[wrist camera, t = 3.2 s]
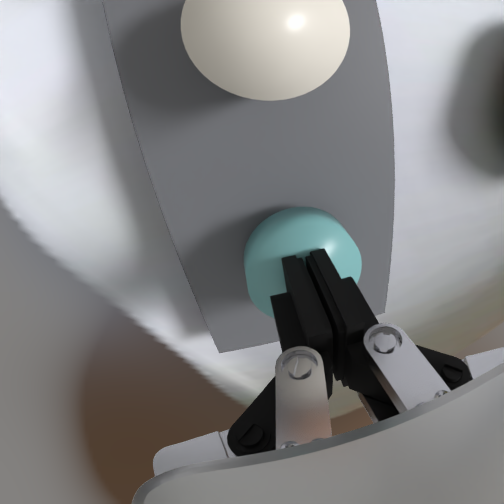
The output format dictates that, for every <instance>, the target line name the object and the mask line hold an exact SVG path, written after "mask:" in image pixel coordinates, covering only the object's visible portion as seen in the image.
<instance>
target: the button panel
mask: <svg viewBox="0 0 504 504" xmlns="http://www.w3.org/2000/svg"><path fill="white" fill-rule="evenodd" d="M342 1H343V3H344V5H345V7H346V10H347V14H348V17H349V24H350V39H349V45H348V48H347V52H346V55H345V57H344V59H343V61H342V63H341V64H340V66H339V67H338V69H337V70H336V72H335V73H334V74H333V75H332V76H331V77H330V78H329V79H328V80H327V81H326V82H324V83H323V84H322V85H320V86H319V87H317V88H316V89H314V90H312V91H310V92H308V93H306V94H303V95H300V96H297V97H294V98H290V99H285V100H275V101H263V100H255V99H249V98H245V97H241V96H238V95H235V94H233V93H230V92H228V91H226V90H224V89H222V88H220V87H219V86H217V85H216V84H214V83H212V82H211V81H210V80H209V79H208V78H206V77H205V76H204V75H203V74H202V73H201V72H200V71H199V70H198V69H197V67H196V66H195V65H194V63H193V62H192V60H191V59H190V57H189V55H188V53H187V51H186V49H185V46H184V43H183V40H182V34H181V15H182V9H183V6H184V3H185V0H103V5H104V10H105V15H106V20H107V25H108V29H109V34H110V38H111V42H112V47H113V51H114V55H115V59H116V63H117V67H118V71H119V75H120V79H121V83H122V86H123V90H124V94H125V97H126V101H127V105H128V108H129V112H130V115H131V118H132V122H133V125H134V129H135V132H136V135H137V138H138V142H139V145H140V148H141V151H142V154H143V158H144V161H145V164H146V167H147V170H148V173H149V176H150V179H151V182H152V185H153V188H154V191H155V194H156V196H157V199H158V202H159V205H160V208H161V211H162V213H163V216H164V219H165V222H166V224H167V227H168V230H169V233H170V235H171V238H172V241H173V243H174V246H175V248H176V251H177V254H178V256H179V259H180V261H181V264H182V266H183V269H184V271H185V274H186V276H187V279H188V281H189V284H190V286H191V289H192V291H193V294H194V296H195V298H196V301H197V303H198V306H199V308H200V310H201V313H202V315H203V317H204V320H205V322H206V324H207V327H208V329H209V331H210V333H211V336H212V338H213V340H214V342H215V345H216V347H217V349H218V351H219V353H223V352H228V351H234V350H239V349H244V348H249V347H254V346H258V345H263V344H268V343H272V342H277V341H280V340H279V336H278V331H277V327H276V323H275V318H272V317H270V316H268V315H266V314H265V313H263V312H262V311H260V310H259V309H258V308H257V307H256V306H255V304H254V303H253V302H252V300H251V298H250V295H249V293H248V287H247V281H246V275H245V268H244V258H243V256H244V250H245V246H246V243H247V241H248V239H249V237H250V235H251V234H252V232H253V231H254V230H255V229H256V227H257V226H258V225H259V224H261V223H262V222H263V221H264V220H265V219H267V218H268V217H270V216H271V215H273V214H275V213H277V212H280V211H282V210H285V209H289V208H294V207H313V208H318V209H321V210H323V211H326V212H328V213H329V214H331V215H332V216H334V217H335V218H336V219H337V220H338V221H339V222H340V223H341V225H342V226H343V227H344V229H345V230H346V231H347V233H348V234H349V236H350V237H351V238H352V240H353V241H354V242H355V244H356V246H357V247H358V249H359V252H360V255H361V260H362V268H361V274H360V278H359V280H358V283H357V286H358V288H359V289H360V291H361V293H362V294H363V296H364V298H365V300H366V301H367V303H368V305H369V307H370V308H371V310H372V312H373V314H374V316H375V315H378V314H382V313H385V306H386V299H387V291H388V283H389V274H390V263H391V252H392V239H393V221H394V189H395V163H394V132H393V115H392V102H391V92H390V82H389V73H388V66H387V58H386V52H385V45H384V39H383V33H382V28H381V22H380V17H379V13H378V8H377V3H376V0H342Z"/></svg>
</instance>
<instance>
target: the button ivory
mask: <svg viewBox="0 0 504 504" xmlns="http://www.w3.org/2000/svg"><path fill="white" fill-rule="evenodd" d="M181 34H182V40H183V43H184V46H185V49H186V51H187V53H188V55H189V57H190V59H191V60H192V62H193V63H194V65H195V66H196V67H197V69H198V70H199V71H200V72H201V73H202V74H203V75H204V76H205V77H206V78H208V79H209V80H210V81H211V82H212V83H214V84H216V85H217V86H219V87H220V88H222V89H224V90H226V91H228V92H230V93H233V94H235V95H238V96H241V97H245V98H249V99H255V100H263V101H275V100H285V99H290V98H294V97H297V96H300V95H303V94H306V93H308V92H310V91H312V90H314V89H316V88H317V87H319V86H320V85H322V84H323V83H324V82H326V81H327V80H328V79H329V78H330V77H331V76H332V75H333V74H334V73H335V72H336V70H337V69H338V67H339V66H340V64H341V63H342V61H343V59H344V57H345V55H346V52H347V48H348V45H349V39H350V24H349V17H348V14H347V10H346V7H345V5H344V3H343V1H342V0H185V3H184V6H183V9H182V15H181Z"/></svg>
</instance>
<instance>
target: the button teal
mask: <svg viewBox="0 0 504 504" xmlns="http://www.w3.org/2000/svg"><path fill="white" fill-rule="evenodd" d="M323 248H324V249H325V250H326V252H327V254H328V256H329V257H330V259H331V261H332V263H333V264H334V266H335V268H336V270H337V272H338V273H339V275H340V277H341V279H342V278H346V277H350V276H351V277H352V278H353V279H354V281H355V282H356V284H357V283H358V280H359V278H360V274H361V268H362V260H361V255H360V252H359V249H358V247H357V246H356V244H355V242H354V241H353V240H352V238H351V237H350V236H349V234H348V233H347V231H346V230H345V229H344V227H343V226H342V225H341V223H340V222H339V221H338V220H337V219H336V218H335V217H334V216H332V215H331V214H329V213H328V212H326V211H323V210H321V209H318V208H313V207H294V208H289V209H285V210H282V211H280V212H277V213H275V214H273V215H271V216H270V217H268V218H267V219H265V220H264V221H263V222H262V223H261V224H259V225H258V226H257V227H256V229H255V230H254V231H253V232H252V234H251V235H250V237H249V239H248V241H247V243H246V246H245V250H244V256H243V258H244V268H245V275H246V281H247V287H248V293H249V295H250V298H251V300H252V302H253V303H254V304H255V306H256V307H257V308H258V309H259V310H260V311H262V312H263V313H265V314H266V315H268V316H270V317H272V318H274V314H273V309H272V305H271V300H270V296H272V295H277V294H281V293H285V292H287V290H286V284H285V278H284V272H283V266H282V260H281V258H284V257H288V256H293V255H296V257H297V258H301V257H302V259H303V261H304V263H305V266H306V259H305V257H306V256H309V255H310V251H314V250H319V249H323Z"/></svg>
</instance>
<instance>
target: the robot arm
mask: <svg viewBox="0 0 504 504" xmlns="http://www.w3.org/2000/svg"><path fill="white" fill-rule="evenodd" d="M305 259H306V266H305V263H304V261H303V259H302V257H301V258H297V257H296V255H293V256H288V257H284V258H281V260H282V266H283V272H284V278H285V284H286V290H287V292H285V293H281V294H277V295H272V296H270V300H271V305H272V309H273V314H274V318H275V323H276V327H277V331H278V336H279V340H280V344H281V348H282V354H281V355H280V356H279V358H278V359H277V361H276V366H275V377H274V378H273V379H272V380H271V381H270V383H269V384H268V385H267V386H266V387H265V389H264V390H263V391H262V392H261V393H260V394H259V396H258V397H257V398H256V399H255V400H254V401H253V403H252V404H251V405H250V406H249V407H248V408H247V409H246V411H245V412H244V413H243V414H242V415H241V416H240V417H239V419H238V420H237V421H236V422H235V423H234V424H233V425H232V427H231V428H230V429H229V430H226V431H224V432H221V433H219V432H218V431H217V432H214V433H211V434H208V435H205V436H202V437H198V438H195V439H192V440H189V441H185V442H183V443H179V444H175V445H172V446H168V447H165V448H163V449H161V450H160V451H159V452H158V453H157V454H156V455H155V457H154V460H153V467H154V472H155V477H154V478H152V479H150V480H148V481H147V482H146V483H144V484H143V485H142V486H141V487H140V488H139V489H138V490H137V492H136V494H135V496H134V498H133V501H132V504H504V347H502V348H498V349H495V350H491V351H487V352H483V353H479V354H475V355H471V356H466V357H465V359H464V360H461V359H458V358H456V357H453V356H450V355H447V354H443V353H440V352H437V351H434V350H430V349H427V348H424V347H421V346H418V345H415V344H414V343H413V342H412V341H411V339H410V338H409V337H408V336H407V335H406V333H405V332H404V331H403V330H402V329H401V328H400V327H398V326H396V325H394V324H390V323H380V324H379V323H378V321H377V319H376V317H375V316H374V314H373V312H372V310H371V308H370V307H369V305H368V303H367V301H366V300H365V298H364V296H363V294H362V293H361V291H360V289H359V288H358V286H357V284H356V282H355V281H354V279H353V278H352V277H351V276H350V277H346V278H342V279H341V277H340V275H339V273H338V272H337V270H336V268H335V266H334V264H333V263H332V261H331V259H330V257H329V256H328V254H327V252H326V250H325V249H324V248H323V249H319V250H314V251H310V255H309V256H306V257H305ZM333 374H334V377H335V379H336V381H338V380H341V381H342V384H343V387H345V386H349V389H352V390H354V391H357V394H358V397H359V399H360V400H361V402H362V404H363V406H364V407H365V409H366V411H367V412H368V414H369V416H370V418H371V419H372V421H373V423H374V424H371V425H368V426H365V427H362V428H359V429H356V430H353V431H349V432H346V433H343V434H339V435H336V436H332V432H331V423H330V414H329V405H328V399H329V398H330V396H331V395H332V385H333Z"/></svg>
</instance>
